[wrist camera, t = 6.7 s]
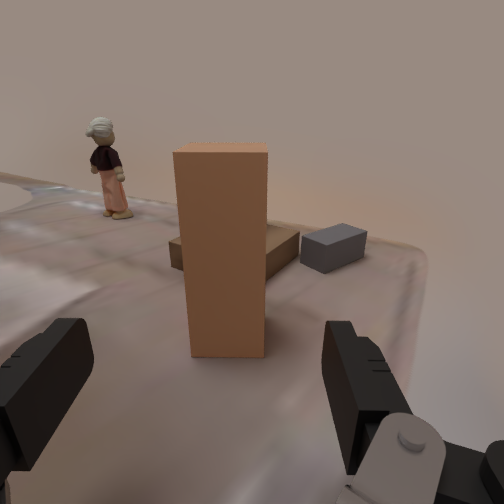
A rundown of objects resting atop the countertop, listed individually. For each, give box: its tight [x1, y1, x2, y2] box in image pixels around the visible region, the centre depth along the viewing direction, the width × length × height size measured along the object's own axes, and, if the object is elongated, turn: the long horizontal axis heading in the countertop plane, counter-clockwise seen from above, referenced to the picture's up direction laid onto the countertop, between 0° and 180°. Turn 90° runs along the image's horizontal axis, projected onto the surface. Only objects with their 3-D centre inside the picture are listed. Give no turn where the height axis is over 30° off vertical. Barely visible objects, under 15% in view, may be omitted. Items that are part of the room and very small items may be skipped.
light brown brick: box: [173, 143, 268, 358], centre depth 20 cm, size 4×4×12 cm
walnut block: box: [169, 224, 300, 282], centre depth 32 cm, size 9×9×3 cm
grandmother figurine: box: [86, 117, 133, 219], centre depth 44 cm, size 8×4×13 cm, turn 61°
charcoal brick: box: [300, 223, 367, 274], centre depth 33 cm, size 3×6×3 cm, turn 128°
